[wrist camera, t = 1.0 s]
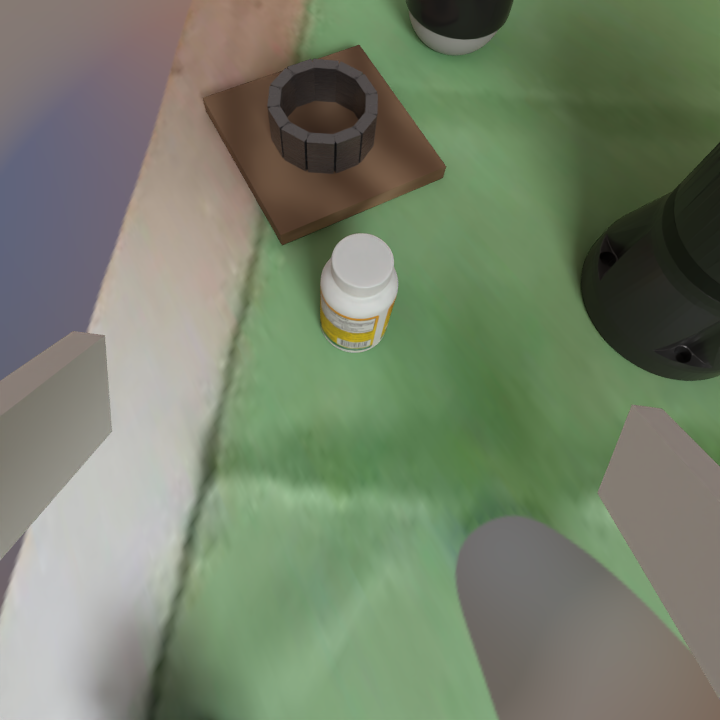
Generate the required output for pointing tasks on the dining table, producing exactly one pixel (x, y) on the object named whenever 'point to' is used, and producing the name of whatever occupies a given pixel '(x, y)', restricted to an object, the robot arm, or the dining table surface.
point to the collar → (327, 86)
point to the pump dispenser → (457, 23)
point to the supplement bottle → (357, 292)
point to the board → (321, 190)
